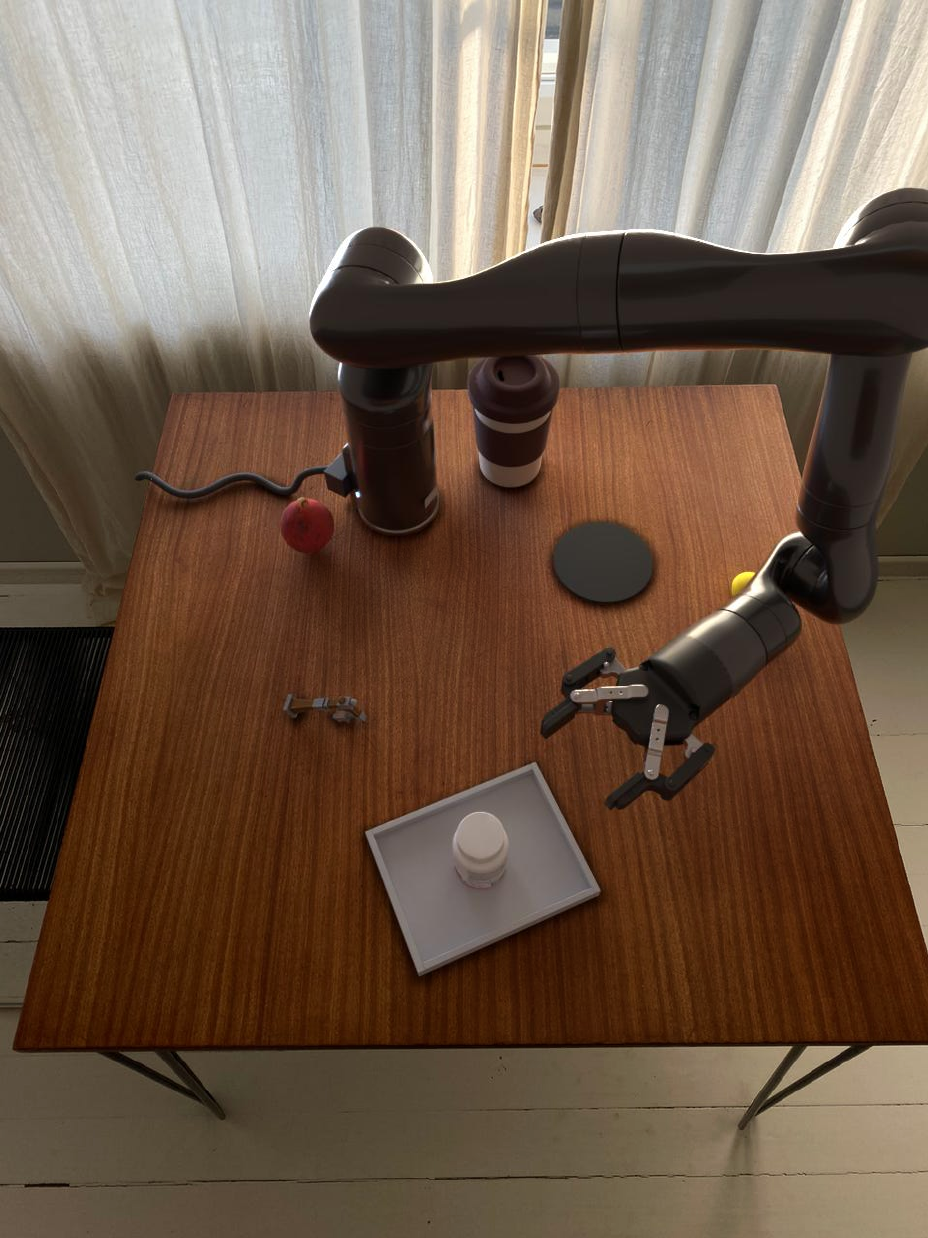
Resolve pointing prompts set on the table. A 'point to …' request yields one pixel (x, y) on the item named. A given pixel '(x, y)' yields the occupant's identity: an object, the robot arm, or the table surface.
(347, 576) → the table surface
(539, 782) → the tray
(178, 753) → the table surface
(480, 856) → the pill bottle
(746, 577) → the light bulb
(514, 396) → the coffee cup
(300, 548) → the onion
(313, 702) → the wooden post with brackets
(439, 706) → the table surface
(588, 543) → the mat
